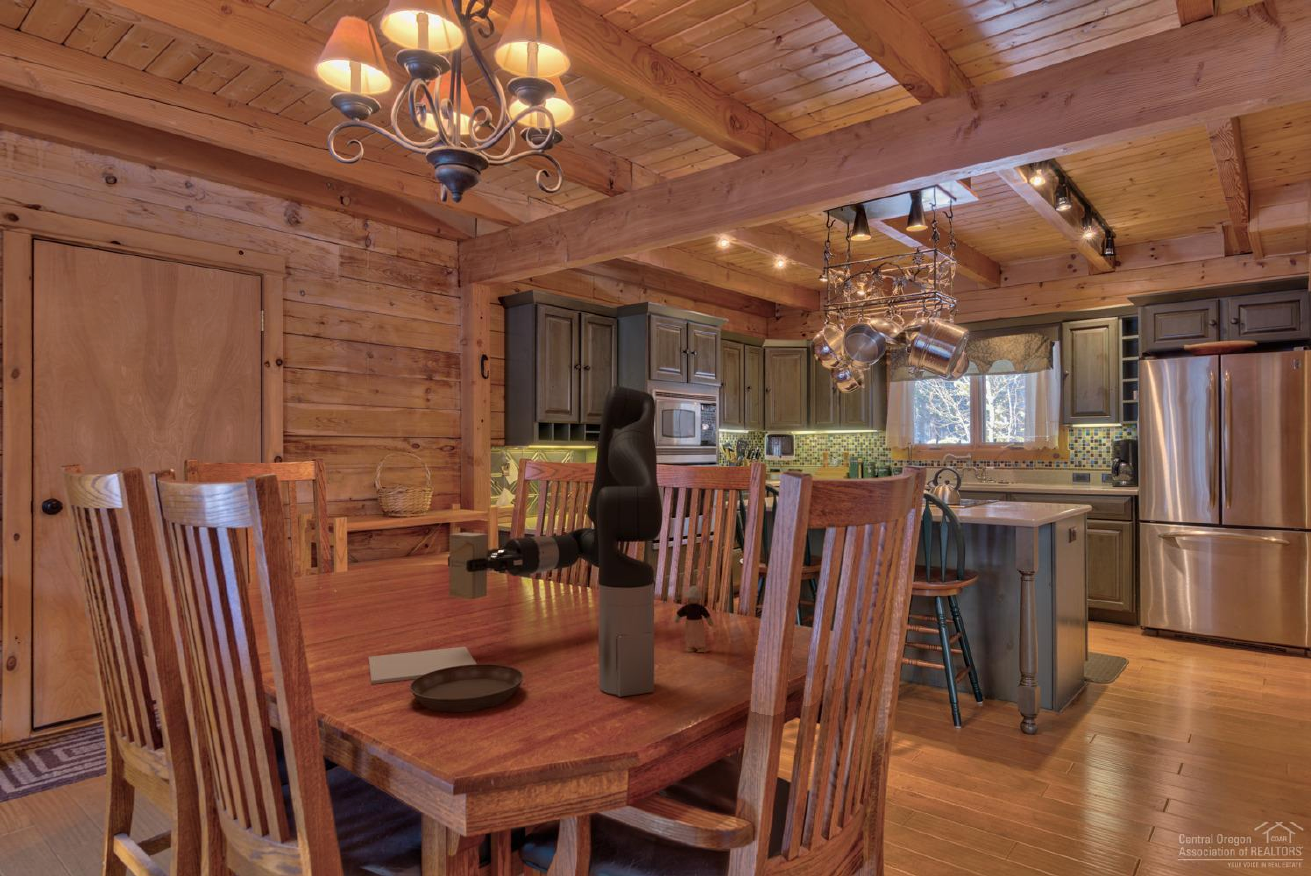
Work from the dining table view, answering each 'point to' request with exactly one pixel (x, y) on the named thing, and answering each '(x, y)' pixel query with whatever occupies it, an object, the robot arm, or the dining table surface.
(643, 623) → the robot arm
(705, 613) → the grandmother figurine
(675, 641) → the dining table surface
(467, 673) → the plant saucer
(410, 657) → the mat
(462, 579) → the skincare box
